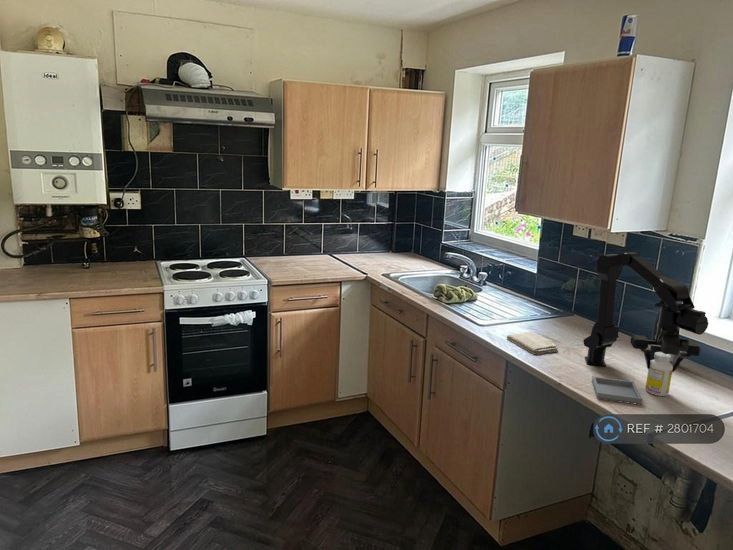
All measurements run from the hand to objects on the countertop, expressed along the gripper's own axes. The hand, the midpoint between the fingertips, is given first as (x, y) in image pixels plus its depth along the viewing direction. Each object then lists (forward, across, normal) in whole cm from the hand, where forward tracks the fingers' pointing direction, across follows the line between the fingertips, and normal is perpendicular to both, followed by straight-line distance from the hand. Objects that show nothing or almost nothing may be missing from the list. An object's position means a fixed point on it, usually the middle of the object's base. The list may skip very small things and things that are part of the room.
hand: (660, 370), depth 173 cm
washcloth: (+8, -38, +29) cm, 48 cm away
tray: (+8, -13, -5) cm, 16 cm away
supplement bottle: (+8, 0, 0) cm, 8 cm away
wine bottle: (+8, +7, +30) cm, 32 cm away
